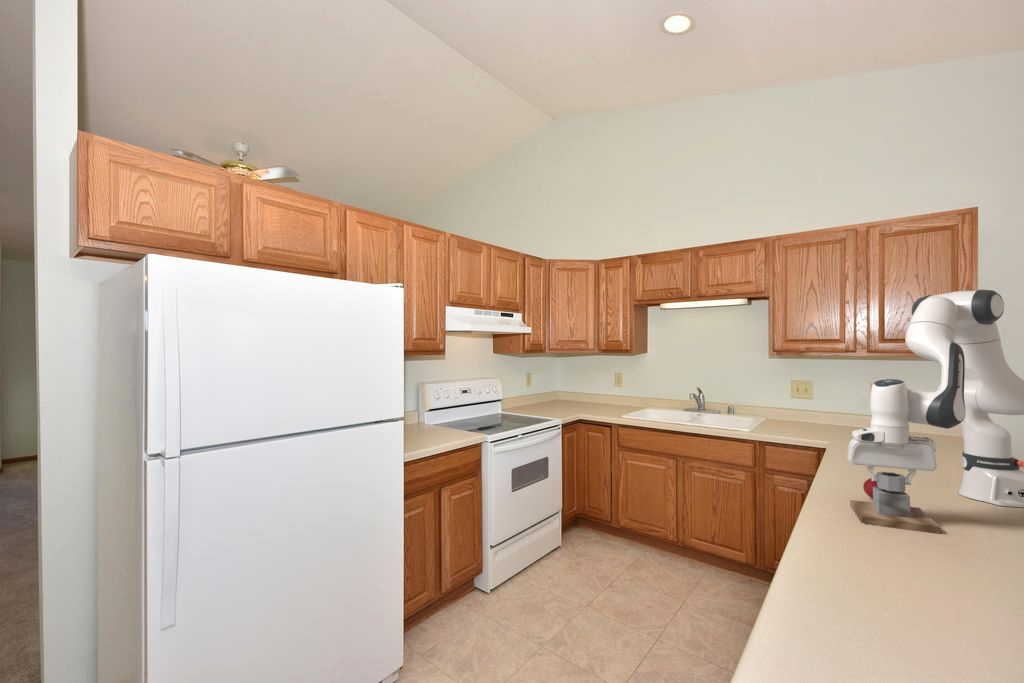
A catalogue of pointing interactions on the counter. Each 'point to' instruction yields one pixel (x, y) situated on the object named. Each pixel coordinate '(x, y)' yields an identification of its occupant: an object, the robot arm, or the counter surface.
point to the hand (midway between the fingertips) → (890, 482)
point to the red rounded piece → (869, 487)
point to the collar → (891, 481)
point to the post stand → (893, 512)
